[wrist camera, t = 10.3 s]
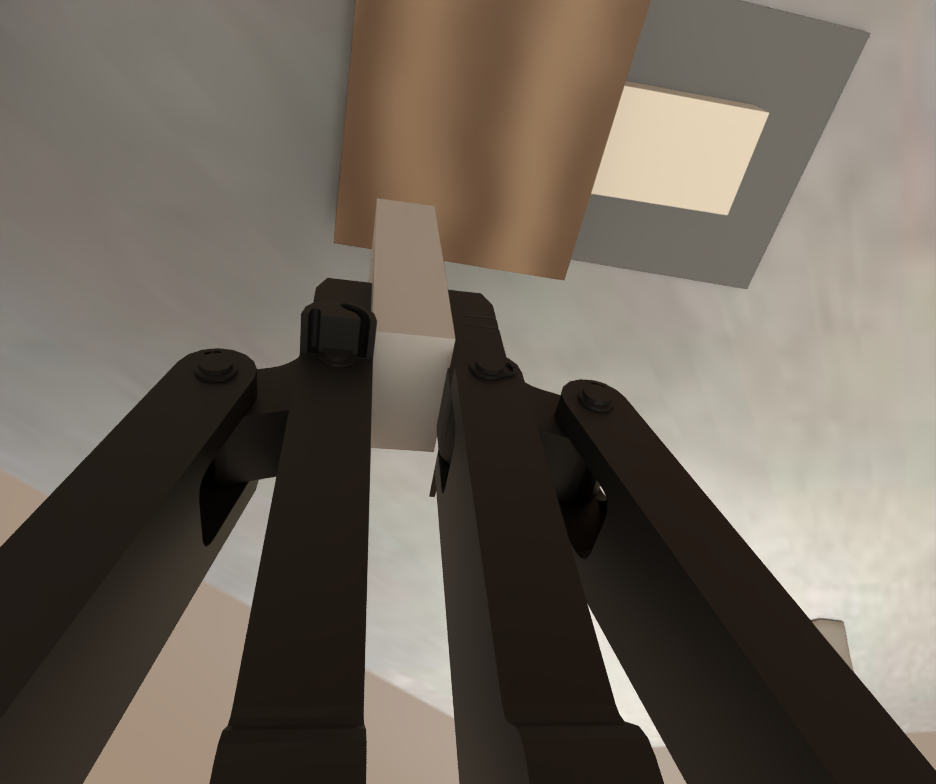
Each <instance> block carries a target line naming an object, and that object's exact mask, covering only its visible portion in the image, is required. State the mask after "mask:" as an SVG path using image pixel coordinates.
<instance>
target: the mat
mask: <svg viewBox="0 0 936 784" xmlns="http://www.w3.org/2000/svg"><path fill="white" fill-rule="evenodd" d="M869 36H870V33H868V32H864V31H860V30H856V29H852V28H848V27H844V26H840V25H836V24H832V23H828V22H824V21H820V20H816V19H812V18H808V17H804V16H800V15H796V14H792V13H788V12H784V11H780V10H776V9H772V8H767V7H763V6H759V5H755V4H751V3H747V2H743V1H739V0H651V2H650V5H649V8H648V11H647V14H646V18H645V21H644V24H643V27H642V31H641V34H640V37H639V40H638V44H637V47H636V50H635V53H634V56H633V60H632V63H631V66H630V69H629V73H628V76H627V79H626V81H629V82H634V83H640V84H645V85H650V86H656V87H661V88H666V89H672V90H677V91H682V92H688V93H693V94H698V95H704V96H709V97H714V98H719V99H725V100H730V101H735V102H741V103H746V104H751V105H755V106H757V107H759V108H761V109H763V110H765V111H767V112H769V115H768V117H767V120H766V122H765V125H764V127H763V130H762V132H761V135H760V137H759V139H758V142H757V144H756V147H755V149H754V152H753V154H752V157H751V159H750V161H749V164H748V166H747V169H746V171H745V174H744V176H743V179H742V181H741V184H740V186H739V188H738V191H737V193H736V196H735V198H734V201H733V203H732V206H731V208H730V210H729V213H728V215H722V214H716V213H710V212H703V211H697V210H691V209H684V208H678V207H672V206H666V205H659V204H653V203H647V202H641V201H634V200H628V199H622V198H615V197H609V196H603V195H597V194H591V195H590V199H589V202H588V205H587V208H586V212H585V215H584V218H583V221H582V225H581V228H580V231H579V234H578V238H577V241H576V244H575V247H574V250H573V254H572V257H571V260H577V261H583V262H589V263H595V264H600V265H606V266H612V267H618V268H624V269H630V270H636V271H642V272H648V273H654V274H660V275H666V276H672V277H678V278H684V279H690V280H696V281H701V282H707V283H713V284H719V285H725V286H731V287H737V288H743V289H747V288H748V286H749V284H750V282H751V280H752V278H753V276H754V274H755V272H756V269H757V267H758V265H759V263H760V261H761V259H762V257H763V255H764V253H765V251H766V249H767V247H768V245H769V243H770V240H771V238H772V236H773V234H774V232H775V230H776V228H777V226H778V224H779V222H780V220H781V218H782V216H783V214H784V211H785V209H786V207H787V205H788V203H789V201H790V199H791V197H792V195H793V193H794V191H795V189H796V187H797V185H798V183H799V180H800V178H801V176H802V174H803V172H804V170H805V168H806V166H807V164H808V162H809V160H810V158H811V156H812V154H813V151H814V149H815V147H816V145H817V143H818V141H819V139H820V137H821V135H822V133H823V131H824V129H825V127H826V125H827V122H828V120H829V118H830V116H831V114H832V112H833V110H834V108H835V106H836V104H837V102H838V100H839V98H840V96H841V93H842V91H843V89H844V87H845V85H846V83H847V81H848V79H849V77H850V75H851V73H852V71H853V69H854V67H855V64H856V62H857V60H858V58H859V56H860V54H861V52H862V50H863V48H864V46H865V44H866V42H867V40H868V38H869Z"/></svg>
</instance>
